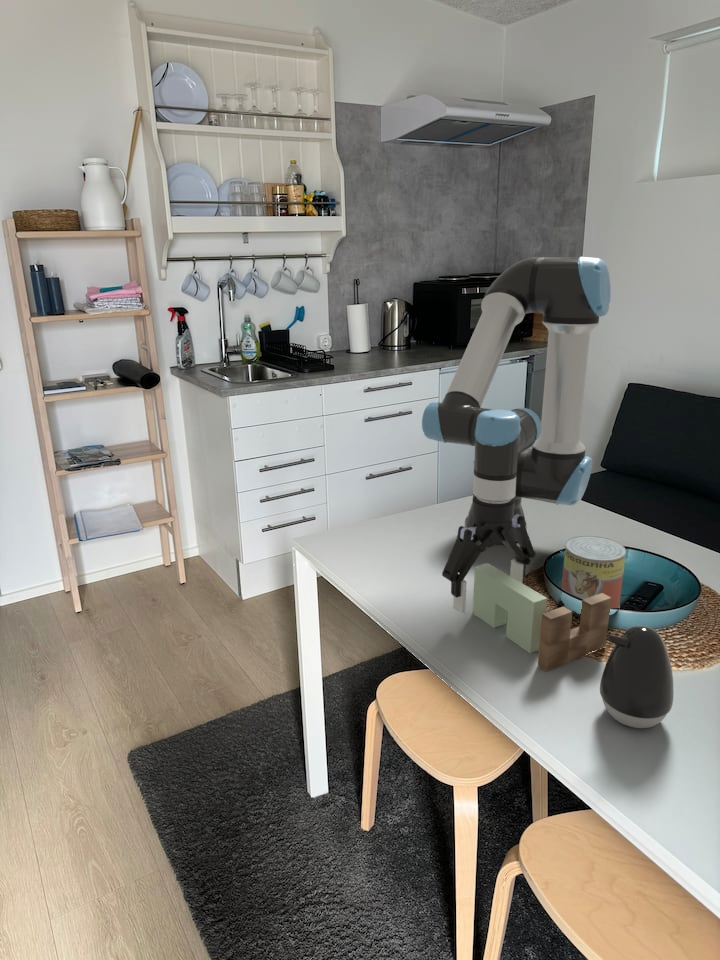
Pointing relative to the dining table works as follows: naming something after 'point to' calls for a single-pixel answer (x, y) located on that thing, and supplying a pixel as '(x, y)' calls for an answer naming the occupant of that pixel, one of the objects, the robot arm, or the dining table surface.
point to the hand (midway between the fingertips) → (487, 601)
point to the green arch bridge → (509, 606)
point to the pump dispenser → (638, 678)
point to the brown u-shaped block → (573, 632)
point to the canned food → (594, 567)
